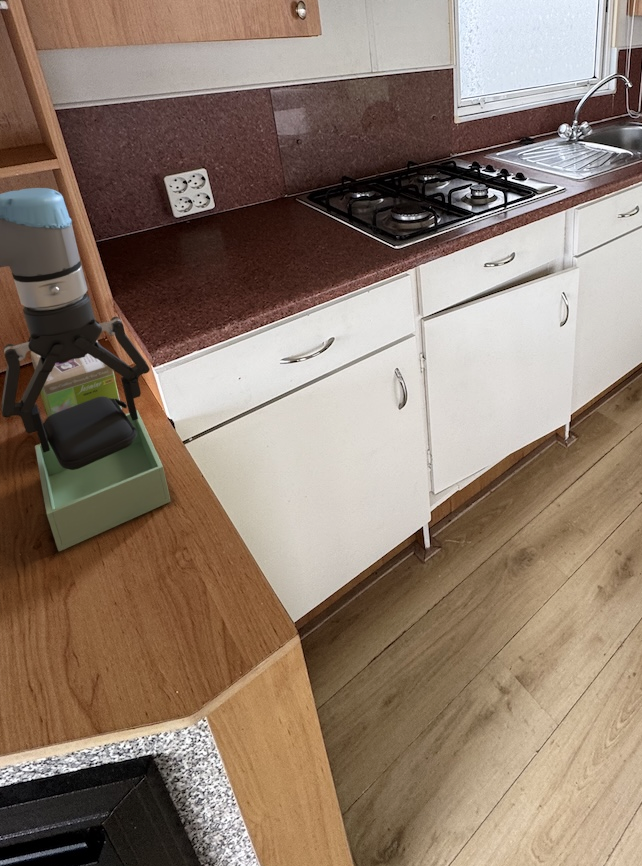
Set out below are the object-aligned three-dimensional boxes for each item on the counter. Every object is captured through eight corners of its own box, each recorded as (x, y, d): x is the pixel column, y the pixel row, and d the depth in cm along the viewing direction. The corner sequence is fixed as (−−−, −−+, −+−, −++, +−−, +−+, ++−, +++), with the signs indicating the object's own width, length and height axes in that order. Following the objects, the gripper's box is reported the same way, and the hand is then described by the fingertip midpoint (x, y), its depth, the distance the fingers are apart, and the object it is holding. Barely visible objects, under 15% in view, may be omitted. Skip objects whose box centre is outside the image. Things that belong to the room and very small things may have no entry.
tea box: (129, 434, 104) (113, 363, 99) (62, 461, 98) (40, 386, 93) (109, 397, 114) (93, 331, 109) (47, 419, 108) (26, 350, 103)
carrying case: (150, 442, 87) (119, 401, 97) (146, 425, 86) (115, 385, 96) (66, 480, 80) (41, 431, 89) (60, 462, 79) (36, 415, 88)
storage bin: (58, 552, 81) (46, 514, 79) (45, 479, 94) (34, 445, 91) (170, 501, 90) (163, 466, 87) (144, 442, 102) (137, 409, 100)
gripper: (-57, 336, 71) (-6, 480, 78) (155, 286, 85) (180, 412, 92) (-55, 314, 76) (-8, 451, 83) (143, 270, 90) (169, 390, 98)
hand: (91, 430), depth 88 cm, fingers closed on carrying case, 10 cm apart
